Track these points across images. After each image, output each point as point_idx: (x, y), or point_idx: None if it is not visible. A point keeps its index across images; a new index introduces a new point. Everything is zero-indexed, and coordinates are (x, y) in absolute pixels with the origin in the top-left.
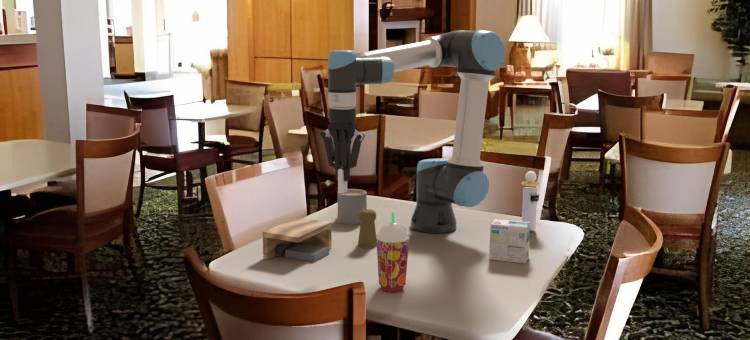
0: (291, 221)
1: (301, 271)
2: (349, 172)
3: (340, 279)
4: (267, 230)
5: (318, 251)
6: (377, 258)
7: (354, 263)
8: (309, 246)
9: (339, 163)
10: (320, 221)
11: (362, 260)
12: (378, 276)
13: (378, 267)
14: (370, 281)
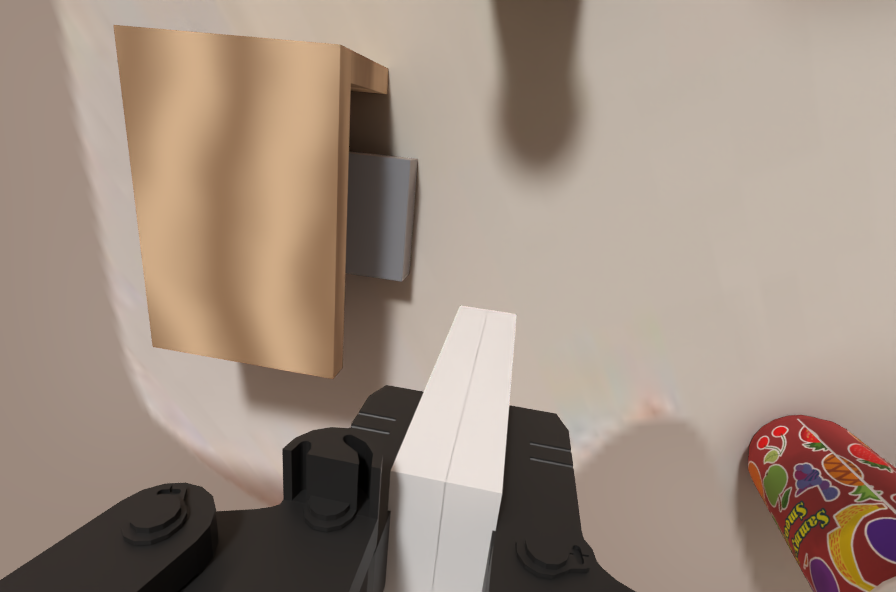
0: (143, 130)
1: (416, 382)
2: (574, 511)
3: (577, 415)
4: (157, 324)
5: (395, 234)
6: (790, 546)
7: (568, 238)
8: None
9: (296, 585)
10: (274, 56)
11: (589, 187)
12: (758, 487)
13: (781, 533)
14: (692, 406)
